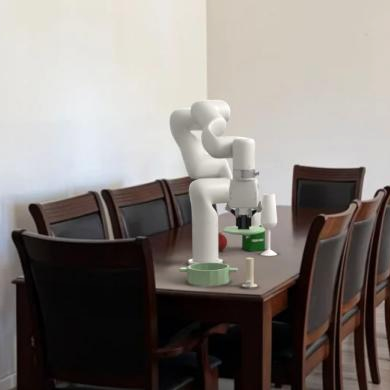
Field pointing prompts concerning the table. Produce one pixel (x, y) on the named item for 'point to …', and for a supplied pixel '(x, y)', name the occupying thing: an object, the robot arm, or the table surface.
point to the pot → (208, 273)
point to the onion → (221, 241)
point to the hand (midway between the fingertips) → (243, 228)
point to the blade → (249, 273)
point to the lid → (243, 228)
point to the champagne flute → (268, 218)
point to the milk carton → (255, 240)
